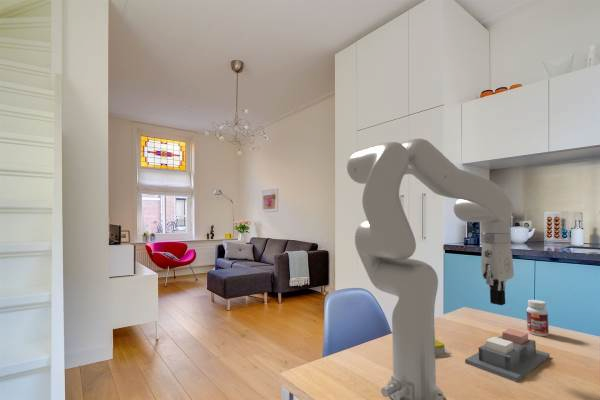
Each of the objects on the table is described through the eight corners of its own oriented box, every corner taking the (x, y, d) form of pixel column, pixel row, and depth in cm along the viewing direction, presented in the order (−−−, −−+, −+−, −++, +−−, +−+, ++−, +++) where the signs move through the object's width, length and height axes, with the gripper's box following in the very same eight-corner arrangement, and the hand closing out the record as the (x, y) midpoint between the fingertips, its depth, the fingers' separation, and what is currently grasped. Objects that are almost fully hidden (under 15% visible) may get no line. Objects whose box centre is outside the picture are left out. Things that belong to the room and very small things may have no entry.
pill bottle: (530, 335, 111) (529, 302, 112) (524, 329, 117) (523, 298, 117) (551, 337, 109) (550, 304, 110) (545, 331, 115) (543, 300, 115)
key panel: (517, 381, 80) (516, 363, 80) (465, 362, 90) (464, 346, 91) (549, 356, 94) (548, 341, 94) (501, 343, 104) (501, 329, 105)
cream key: (505, 358, 86) (505, 346, 86) (486, 352, 90) (485, 340, 90) (513, 353, 88) (512, 341, 89) (494, 347, 93) (493, 336, 93)
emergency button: (392, 334, 102) (431, 330, 106) (392, 348, 102) (432, 343, 106) (409, 345, 93) (452, 340, 97) (410, 361, 93) (452, 354, 97)
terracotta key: (521, 348, 92) (521, 337, 92) (502, 342, 96) (502, 332, 96) (528, 344, 95) (527, 333, 95) (509, 339, 99) (509, 328, 99)
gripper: (498, 241, 83) (500, 311, 82) (520, 238, 92) (523, 302, 91) (469, 239, 89) (471, 305, 88) (492, 237, 98) (495, 297, 97)
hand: (497, 303), depth 90 cm, fingers closed
